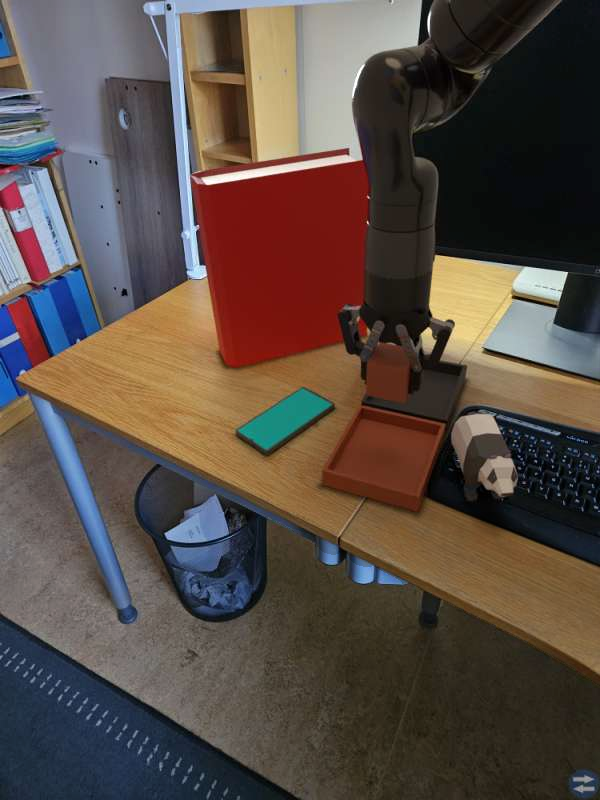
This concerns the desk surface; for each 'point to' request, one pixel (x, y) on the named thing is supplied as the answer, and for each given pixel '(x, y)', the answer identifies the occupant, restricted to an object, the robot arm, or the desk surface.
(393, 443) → the terracotta tray
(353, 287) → the book
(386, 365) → the terracotta block
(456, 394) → the charcoal tray
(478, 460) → the giant panda
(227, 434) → the desk surface
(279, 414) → the smartphone
